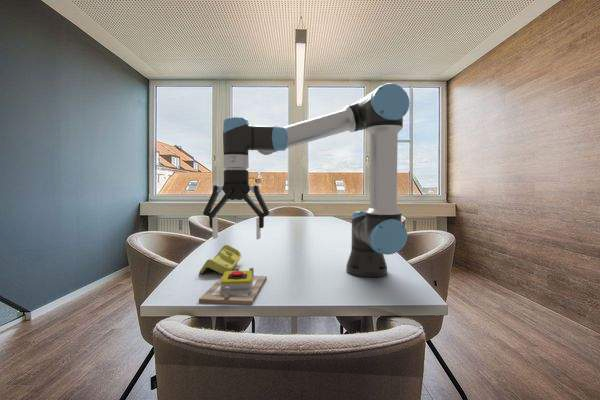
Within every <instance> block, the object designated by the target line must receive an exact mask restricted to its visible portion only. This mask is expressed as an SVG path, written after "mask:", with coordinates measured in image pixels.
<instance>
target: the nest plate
mask: <svg viewBox="0 0 600 400" xmlns="http://www.w3.org/2000/svg"><path fill="white" fill-rule="evenodd" d="M234 271H240V267H238V266H237V267H236V266H235V267H234ZM248 271H252V276H253V284H252V292H251V293H243V294H229V287H224V294H220V288H221V280H222V277H223V275H222V276H221V277H220V278H219V279H218V280H217V281H216V282H215V283H214V284H213V285H212V286H210V288H209V289H207V291H205V292H204V293H203V294H202V295H201V296H200V297H198V298H199V299H198V303H200V304H201V303H203V304H205V303H206V304H225V305H226V304H227V305H228V304H230V305H231V304H232V305H233V304H234V305H253V304H254V302H255V300H256V298H257V297H258V295H259V293H260V292H261V289H262V288H263V286H264V285H265V283H266V281H267V278H268V276H266V275H255V274H254V272H255V271H254V267H249V269H248Z"/></svg>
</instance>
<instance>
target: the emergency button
mask: <svg viewBox="0 0 600 400" xmlns="http://www.w3.org/2000/svg"><path fill="white" fill-rule="evenodd" d="M222 276H223V277H222ZM222 276H221V277H222V280H221V288H220V294H224V287H229V294H243V293H251V292H252V284H253V276H252V271H249V270H239V271H235V270H232V271H225V273H224V274H222Z"/></svg>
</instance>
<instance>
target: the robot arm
mask: <svg viewBox="0 0 600 400" xmlns="http://www.w3.org/2000/svg"><path fill="white" fill-rule="evenodd" d="M409 108H410V98H409V95H408V93H407V92H406V91H405V90H404V88H403V87H402V86H400V85H398V84H396V83H390V82H388V83H384V84H381V85H378V86H377V87H376V88H375V89H373V90H372V91H371V92H370V93H368V94H367V95H365V96H364V97H363V98H361V99H359V100H358V101H356V102H354V103H351V104H349V105H345V106H344V108H343V109H342V110H338V111H336V112H335V111H334V112H331V113H328V114H327V113H326V114H325V115H320V116H317V117H314V118H310V119H306V120H303V121H299V122H296V123H293V124H289V125H285V126H281V125H280V126H279V125H251V124H250V123H249V119H248V118H246V117H241V116H230V117H226V118H225V119H224V120H223V128H222V141H223V142H222V143H223V144H222V145H223V147H222V148H223V149H222V152H223V153H222V154H223V157H222V159H223V169H225V170H223V185H219V184H214V185H213V187H212V193H211V195H210V197H209V199H208V202H207V204H206V206H205V208H204V210H203V212H202V214H203V216H207V217H208V218H209V221H208V222H209V228H212V240H214V239H215V240H216V239H217V238H218V237H219V222H218V220H219V217H218V216H216V215H217V214H218V213H219V212H220V210H221V209H222V208H223V207H224V205H225V204H226V203H227V202H228V201H229V200H230V201H235V200H236V201H242V200H244V202H246V203H247V205H248V206H249V207H250V208H251V209H252V211H253V212H254V214H256V216H258V217H256V220H255V221H256V222H255V224H256V227H255V229H256V232H255V233H256V240H260V239H261V238H262V237H261V235H262V234H261V232H262V231H261V230H262V229H263V228H264V226H265V217H267V216H269V215H270V212H271V211H270V210H269V208H268V207H267V205H266V202H265V201H264V198H263V196H262V194H261V192H260V186H259V185H257V184H256V185H252V186H250V184H249V183H250V182H249V180H250V177H249V175H250V173H249V170H248V169H249V151H258V153H259V154H261V155H264V156H268V155H272V154H273V153H276V152H277V153H278V152H279V151H286V150H287V149H290V148H293V147H296V146H301V145H303V144H307V143H310V142H314V141H317V140H319V139H325V138H327V137H330V136H335V135H336V134H337V135H338V134H341V133H344V132H350V133H354V132H358V131H363V130H365V131H366V132H367V133H368V134H369V135H370V150H369V152H370V153H369V154H370V155H369V156H370V158H369V159H370V164H369V165H370V167H369V171H370V172H369V174H370V175H369V176H370V178H369V179H370V180H369V182H370V183H369V187H370V188H369V207H368V209H366V210H362V211H361V210H360V211H354V212H353V213H352V214H351V215H352V216H351V220H350V221H351V249H350V254H349V257H348V260H347V262H346V270H345V271H346V272H347V274H351V276H356V277H357V276H358V277H360V278H361V277H362V278H380V277H383V276H386V275H387V274H388V266H387V265H388V264H387V262H386V259H385V255H386V256H387V255H388V256H389V255H394V254H396V253H398V252H400V250H401V249H403V248H404V246H405V244H406V242H407V241H408V230H407V227H406V226H405V225H404V224H403V222H402V211H401V210H400V209H399V208H398V207H397V206H398V205H397V204H398V200H397V199H398V197H397V195H398V144H399V143H398V141H399V140H398V137H399V136H398V135H399V133H400V131H402V130H403V128H404V127H403V125H404V124H403V122H404V117H405V115H407V113H408V111H409V110H410V109H409ZM222 191H223V193H224V195H223V196H222V198H221V199H220V200H219V202H218V203H217V204H216V205H215V203H216V201H217V198H218V196H219V194H220V193H222ZM250 191H251V192H252V193H253V194H254V195H255V198H256V199H257V203H258V204H259V206H260V208H261V209H260V208H259V206H258V205H257V204H256V203H255V202H254V200H253V199H252V198H251V196H250V195H249V192H250ZM214 205H215V207H214Z"/></svg>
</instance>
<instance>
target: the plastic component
mask: <svg viewBox="0 0 600 400" xmlns="http://www.w3.org/2000/svg"><path fill="white" fill-rule="evenodd" d="M241 258H242V252H240V251H239V249H237V248H235V247H234V246H231V245H229V244H224V245H223V246H222V248H221V249H220V250H219V251H218V252H217V254H216V255H215V256H214V257H213V259H211V258H209V259H207V260H206V261H205V262H204V264H203V266H202V267H201V269H200V270H199V274H201V273H202V274H204V273H205V272H206V271H207V270H208V269H211V270H213V271H215V272H217V273H219V274H221V275H224V273H225V271H234V270H233V269H235V268H236V266H237V264H238V263H239V261H240V259H241Z"/></svg>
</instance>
